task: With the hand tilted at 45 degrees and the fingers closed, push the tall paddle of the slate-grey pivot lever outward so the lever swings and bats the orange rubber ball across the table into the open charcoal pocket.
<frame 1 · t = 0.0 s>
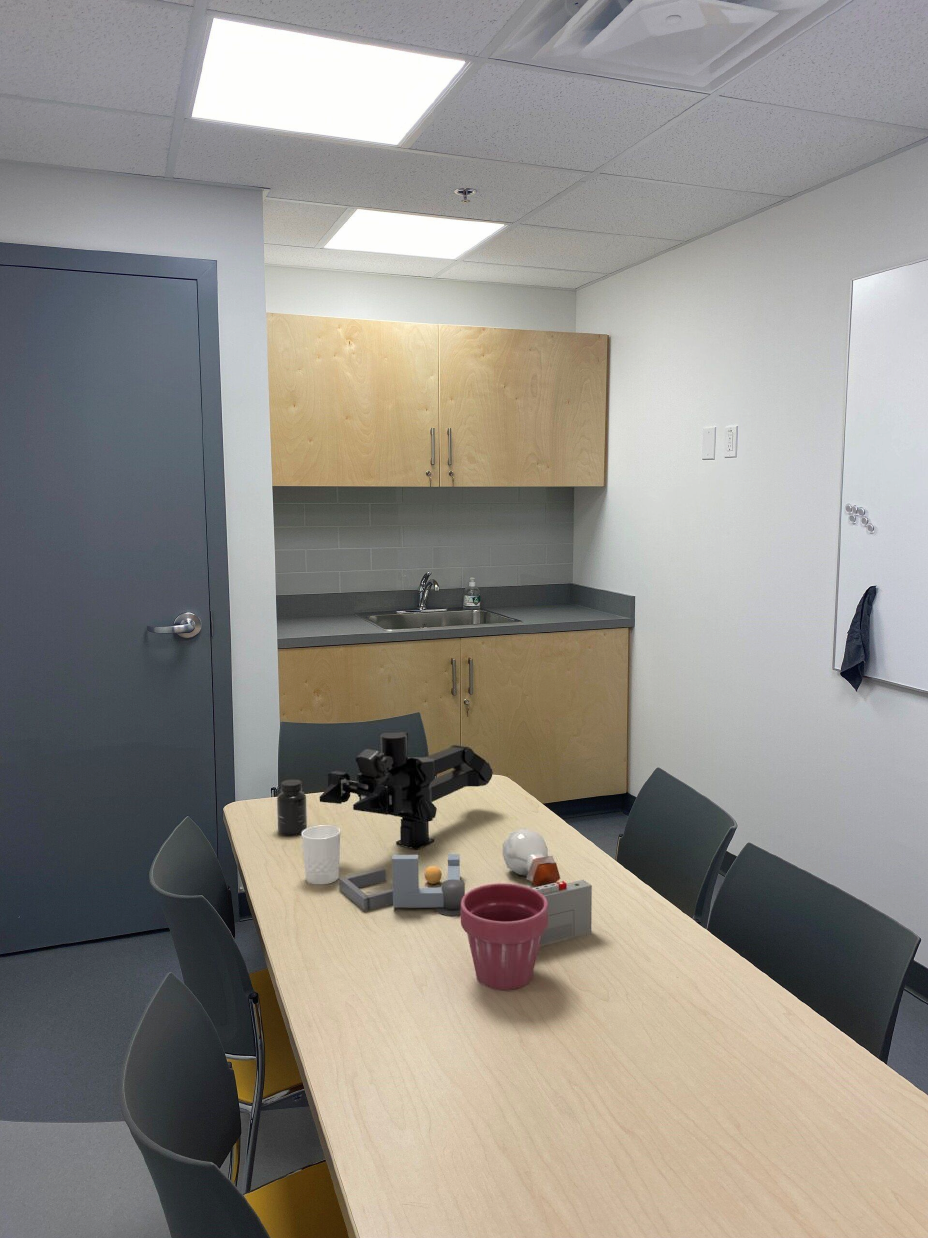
hand: (336, 803, 180), 17 cm above the table, tool horizontal, fingers open, 9 cm apart
cassette player: (549, 941, 157), on the table
white cup: (322, 879, 184), on the table
potion bottle: (532, 879, 183), on the table
plant pot: (504, 977, 144), on the table
ball: (433, 875, 180), point 2 cm above the table
supplement bottle: (292, 832, 211), on the table
lever: (430, 867, 175), point 5 cm above the table, hinge at 0.0°
pivot plate: (453, 908, 169), on the table
pocket: (375, 894, 176), on the table
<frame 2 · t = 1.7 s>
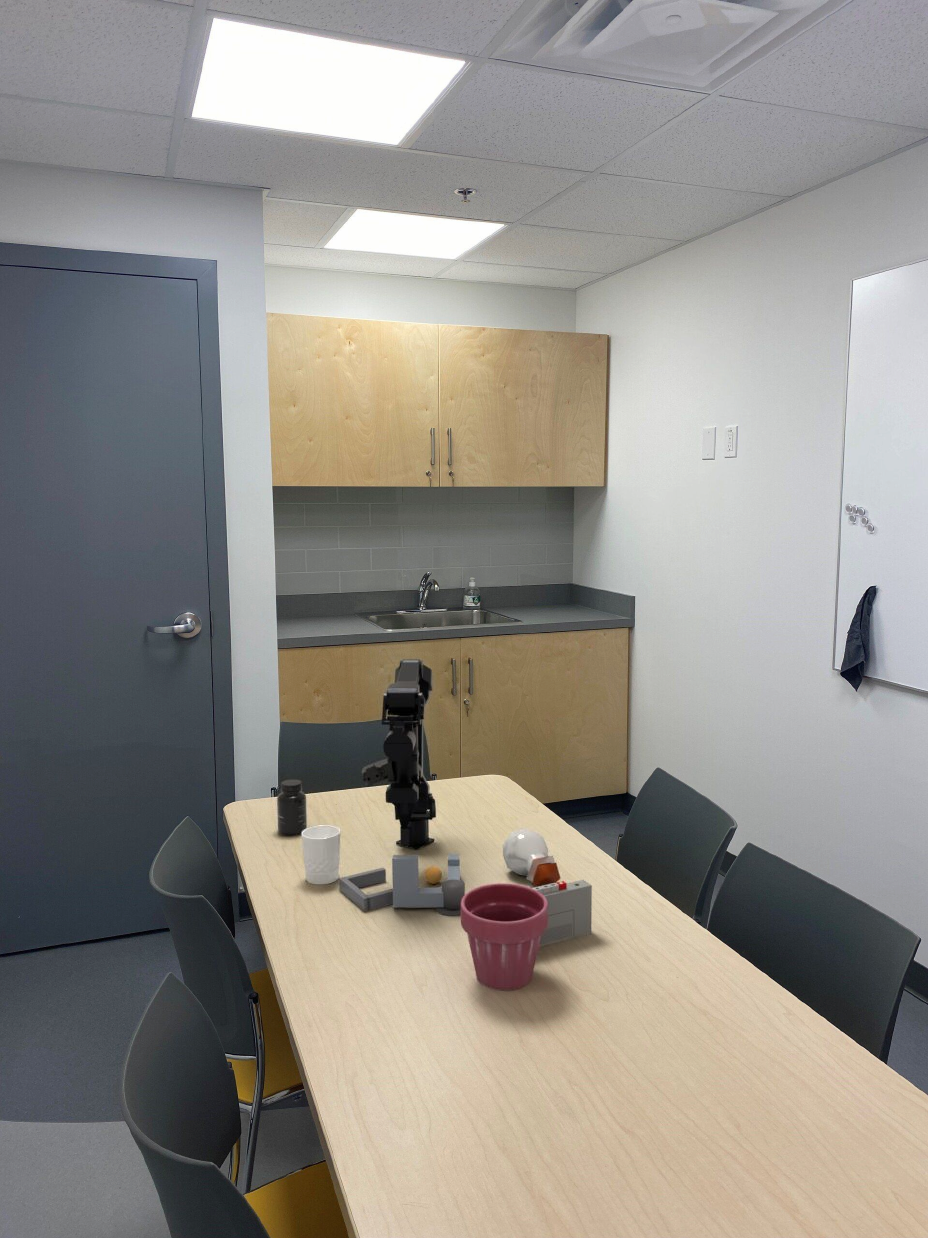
hand: (405, 823, 181), 12 cm above the table, tool pointing down, fingers open, 6 cm apart
nothing on the table moved.
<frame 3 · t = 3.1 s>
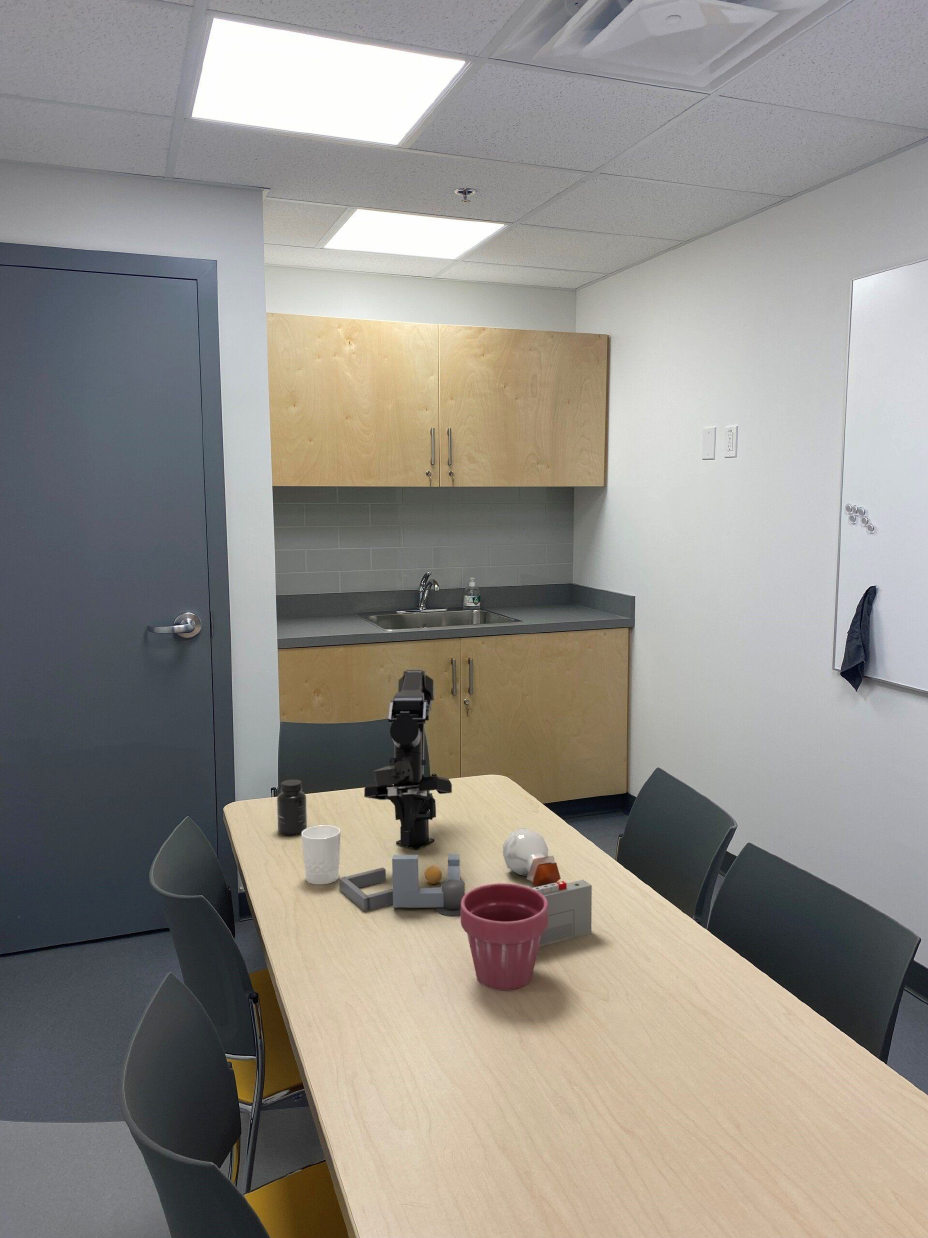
hand: (406, 831, 179), 11 cm above the table, tool tilted 25°, fingers closed
nothing on the table moved.
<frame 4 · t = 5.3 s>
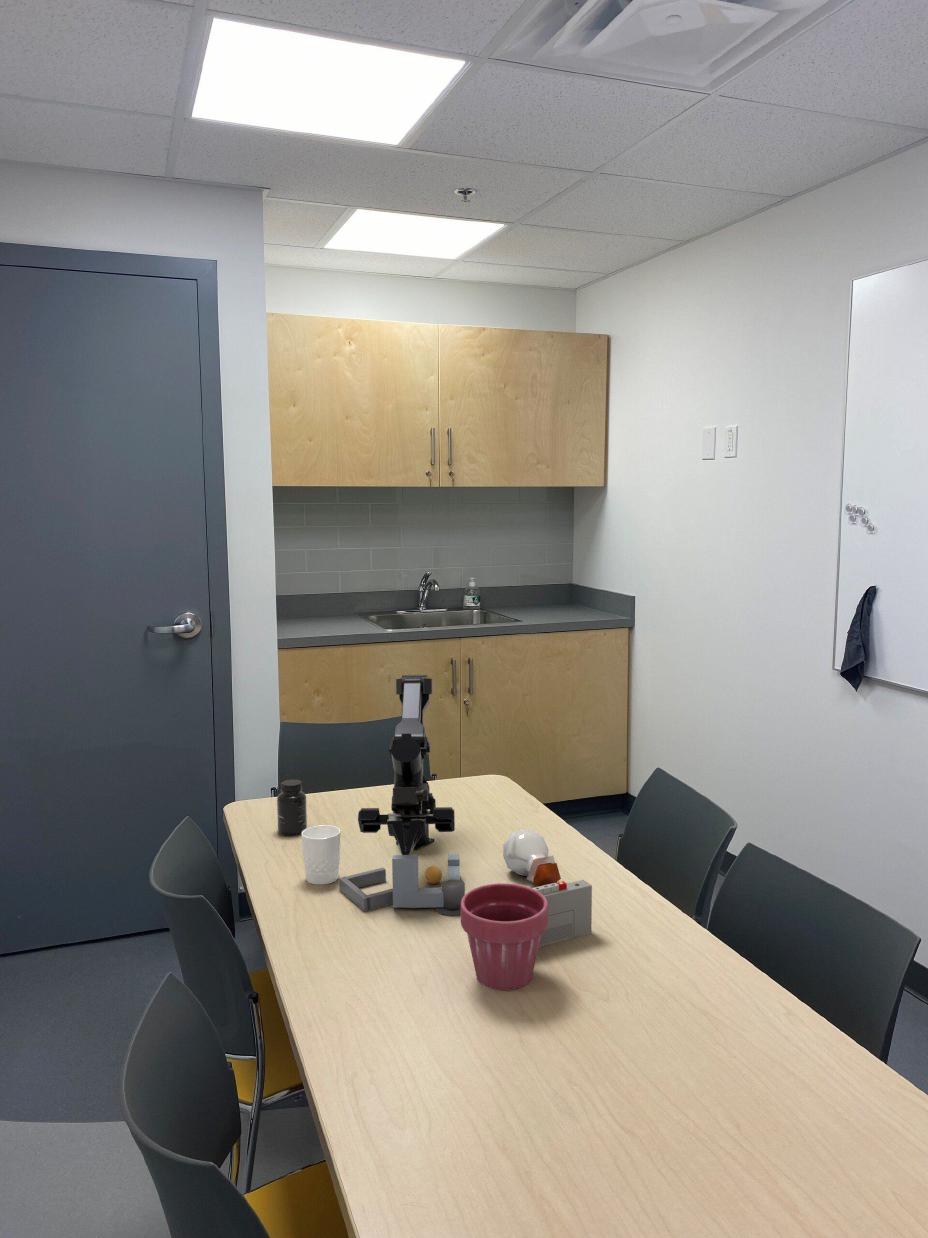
hand: (405, 861, 169), 9 cm above the table, tool tilted 45°, fingers closed, pressing on lever
lever: (429, 867, 175), point 5 cm above the table, hinge at 0.2°, touching gripper
everything else where it was.
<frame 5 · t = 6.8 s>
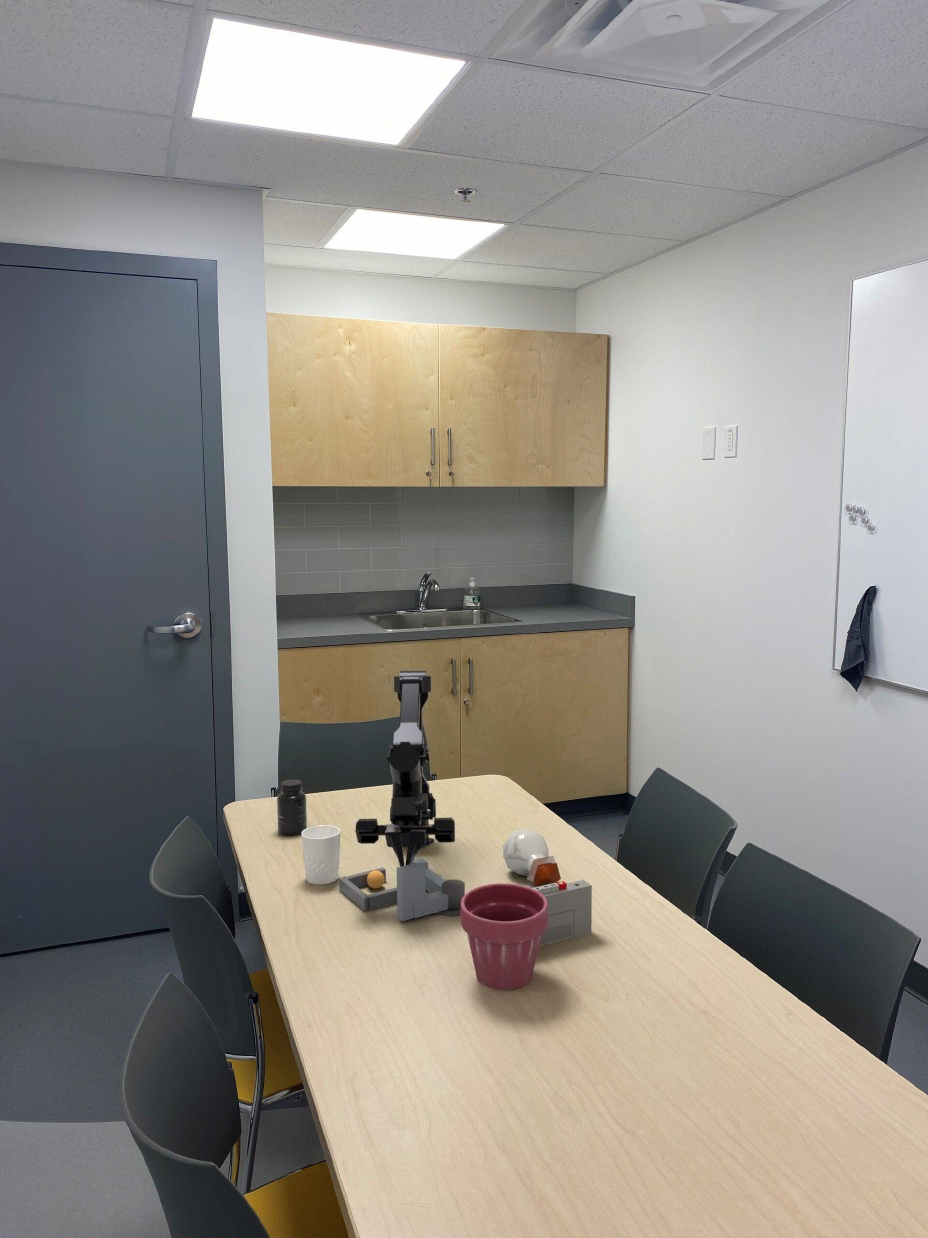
hand: (404, 873, 165), 8 cm above the table, tool tilted 45°, fingers closed
ball: (375, 879, 178), point 2 cm above the table, tilted 16°
lever: (415, 874, 172), point 5 cm above the table, hinge at 31.2°, touching gripper
everything else where it was.
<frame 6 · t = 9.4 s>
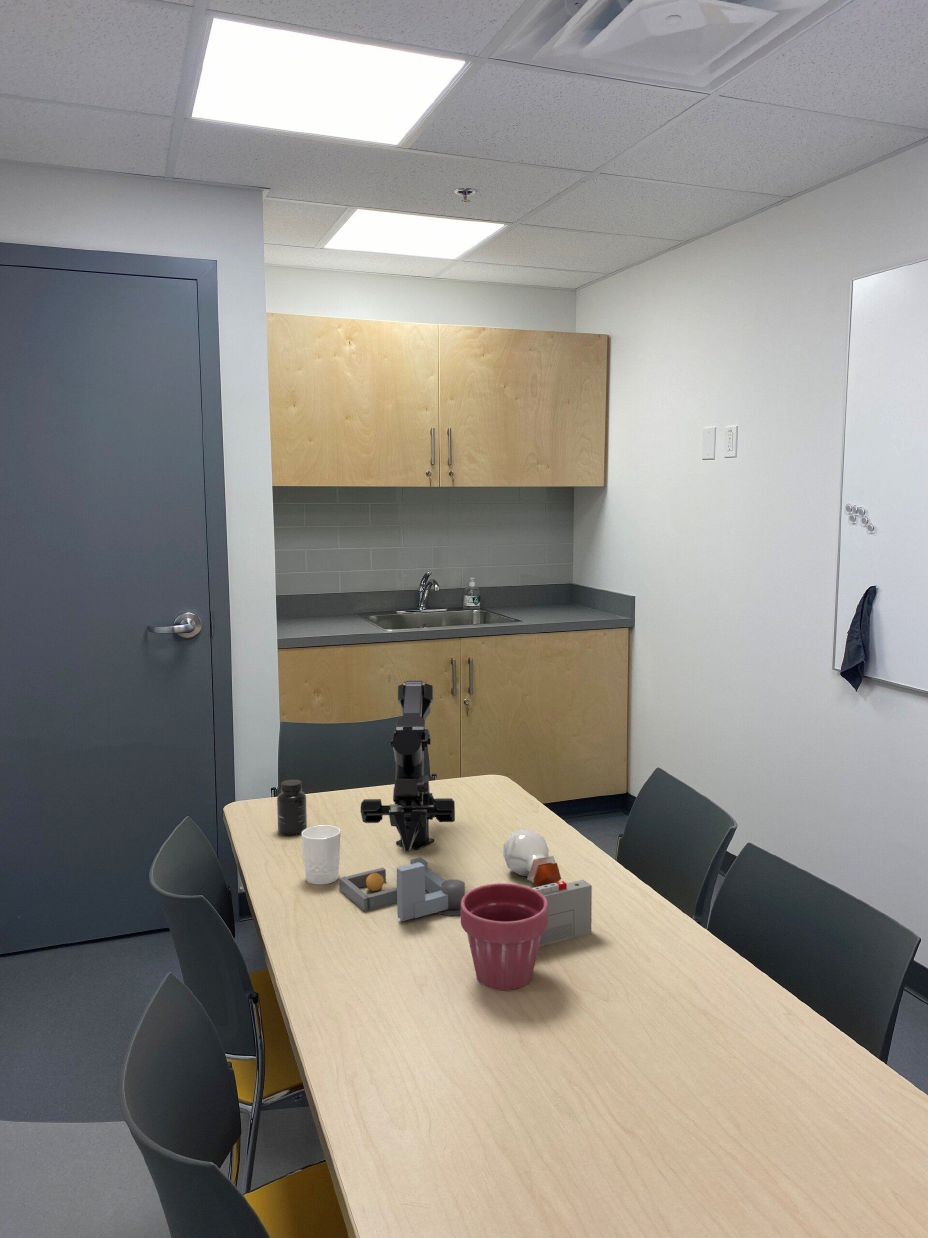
hand: (407, 851, 174), 9 cm above the table, tool tilted 45°, fingers closed
ball: (374, 882, 177), point 2 cm above the table, tilted 46°
lever: (415, 874, 172), point 5 cm above the table, hinge at 31.2°
everything else where it was.
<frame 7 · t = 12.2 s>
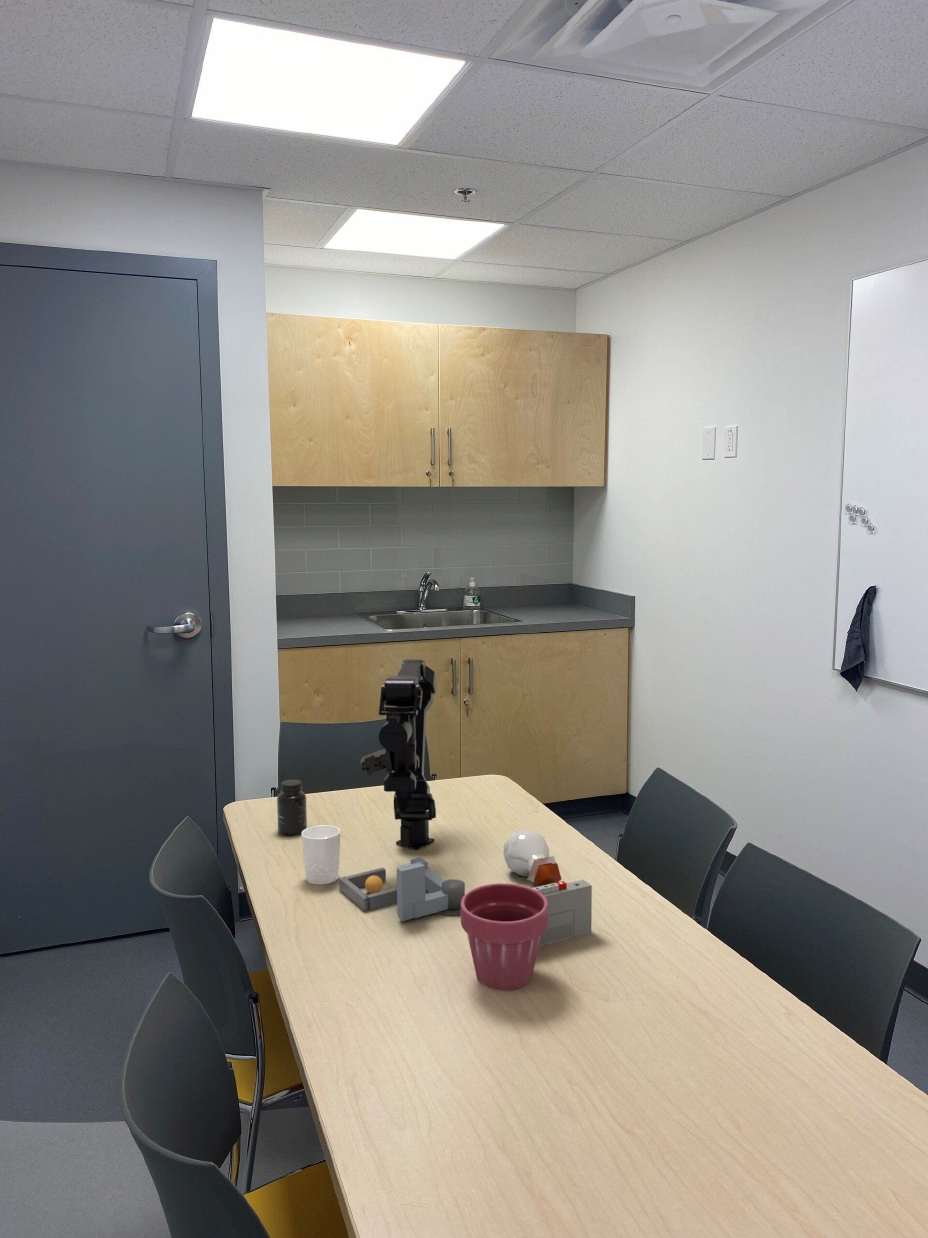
hand: (403, 811, 185), 13 cm above the table, tool pointing down, fingers closed
ball: (373, 884, 176), point 2 cm above the table, tilted 86°
everything else where it was.
at the end: ball 0.6 cm from the pocket (horizontally); ball point 1.7 cm above the table; lever at +31° (first picture: +0°) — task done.
